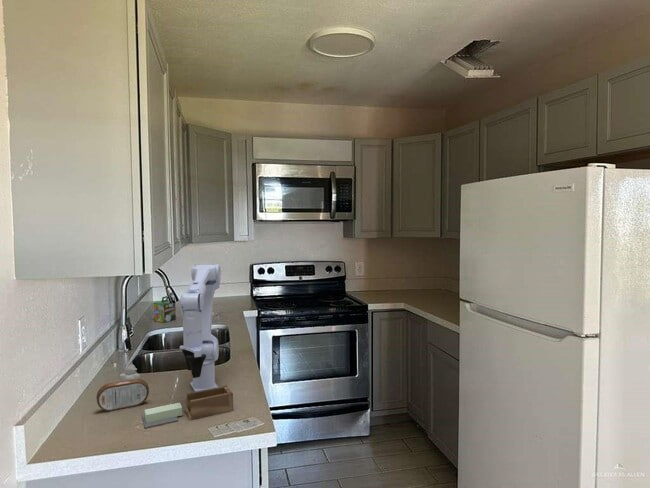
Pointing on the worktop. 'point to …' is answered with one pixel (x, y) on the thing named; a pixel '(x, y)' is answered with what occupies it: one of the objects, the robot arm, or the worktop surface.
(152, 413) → the sage bar
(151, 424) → the mat
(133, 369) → the white tapered cone
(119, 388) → the tin
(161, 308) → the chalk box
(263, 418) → the worktop surface
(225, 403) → the pocket block
